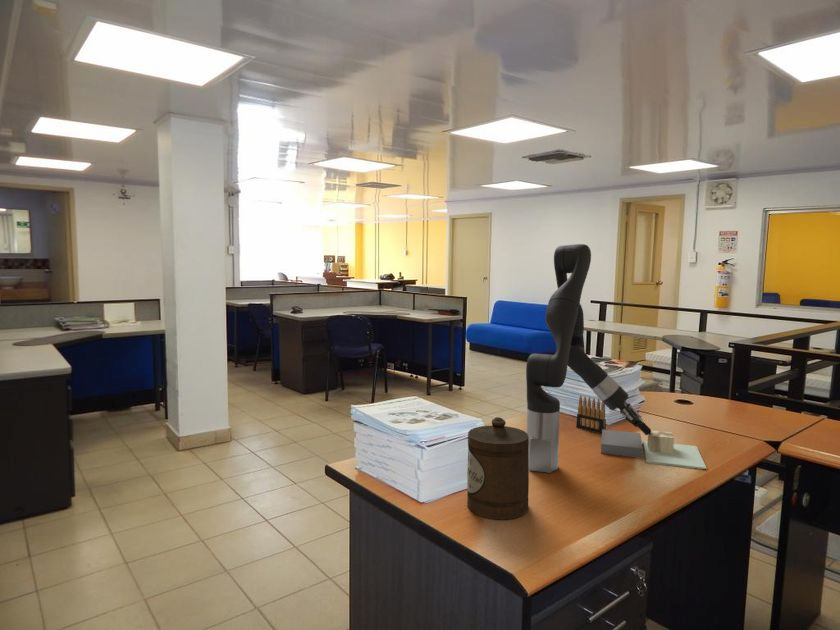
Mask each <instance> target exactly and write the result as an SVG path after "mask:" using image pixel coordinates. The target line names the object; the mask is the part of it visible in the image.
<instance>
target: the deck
mask: <svg viewBox="0 0 840 630" xmlns="http://www.w3.org/2000/svg"><path fill="white" fill-rule="evenodd" d="M643 448H644V447H643V441H642V436H641V432H634V431H633V432H631V431H621V430H613V429H606V430H604V429H602V434H601V443H600V453H601V454H606V455H613V456H621V455H622V457H632V458H640V459H643V450H644V449H643Z"/></svg>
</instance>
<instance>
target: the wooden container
mask: <svg viewBox="0 0 840 630" xmlns="http://www.w3.org/2000/svg"><path fill="white" fill-rule="evenodd" d="M505 425H506V421H505V419H504V418H502V417H498V416H497V417H494V418H493V419H492V420H491V425H483V426H482V425H481V426H476V427H473V428H471V429H470V430H469V431H468V432H467V471H466V473H467V477H466V481H467V482H466V484H467V486H466V487H467V488H466V489H467V490H466V491H467V495H466V496H467V501H466V504H467V507H468V509H469V510H470V511H471V512H472V511H473V512H472V513H474V514H476V515H478V516H479V517H481V518H482V517H483V518H486V519H491V520H504V521H505V520H511V519H512V520H513V519H517V518H520V517H522V516H523V515H525V514H526V513H527V512H528V510H529V489H530V484H529V483H530V482H529V481H530V480H529V479H530V478H529V477H530V474H529V473H530V470H529V468H528V447H529V438H528V434H527V431H525V430H524V429H520V428H516V427H512V426H507V425H506V426H505Z"/></svg>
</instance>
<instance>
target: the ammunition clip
mask: <svg viewBox="0 0 840 630" xmlns="http://www.w3.org/2000/svg"><path fill="white" fill-rule="evenodd" d="M595 399H596V398H595V397H593V398H592V400H591V397H590V396H588V399H587V396H586V395H584V397H582V395H581V394H580V396H579V398H578V405H577V415H576V422H575V423H576V424H575V427H576V428H577V427H579V428H578V429H581V428H582V430H585V429H586V431H589V430H590V432H593V431H594V432H593V433H597V432H598V433H599V434H601V435H602V429H604V430H607V429H606V428H607V427H606V426H607V424H606V421H607V419H606V405H605V404H604V403H603V402H602V401H601V399H600V398H597V400H595ZM598 433H597V434H598Z"/></svg>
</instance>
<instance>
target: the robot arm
mask: <svg viewBox="0 0 840 630" xmlns="http://www.w3.org/2000/svg"><path fill="white" fill-rule="evenodd" d="M591 261H592V251H591V248H590V247H589V246H588V245H587V244H585V243H584V244H583V243H581V244H580V243H577V244H567V245H559V246H556V248H555V249H554V253H553V266H554V272H555V273H554V274H555V280H556V286H557V290H555V291H554V292H553V293H552V294H551V296H550V298H549V300H548V303H547V307H546V312H545V315H544V316H545V317H544V318H545V323H546V326H547V328H548V330H549V332H550V334H551V335H552V337H553V339H554V342H555V343H554V344H555V345H556V351H555V354H550V353H549V354H547V353H531V354H530V355H529V356H528V358H527V362H526V367H525V370H526V372H525V376H526V379H525V380H526V403H527V406H526V410H527V412H526V433H527V434H528V438H529V447H528V468H529V471H532V472H540V473H548V474H551V473H553V472H554V471H557V470H558V469H559V447H560V446H559V445H560V443H559V441H560V415H561V413H560V409H561V403H560V400H559V399H558V398H557V397H555V396H553V395H551V394H549V393H548V392H546V391H545V390H544V389H543V387H547V388H561V387H563V386H564V384H565V381H566V377H567V373H568V372H567V371H568V367H569V368H570V370H571V371H572V372H574V373H575V374H576V375H578V377H580V378H581V379H582V380H583V382H584V383H585V384H586V385H587V386H588V387H589V388H590V389H591V390H592V391H593V392H594V394H595V396H597V397H598V399H599V400H600V401H601V403H602V402H603V403H604V404H605V407H607V408H608V409H609V410H610V411H614V410H616V409H619V414H620V415H621V416H622V417H624V418H625V420H626V421H627V422H629V423H630V424H632V425H633V426H634V427H635V428H638V429H639V430H640V431H641V432H642V433H643V434H644V435H645V436H648V434H650V433H651V430H652V429H651V428H650V427H649V426H648V425H647V424H646V423H645V421H644V419H643V418H642V416H641V415H640V414H639V412H638V411H637V410H636V409H635V407H634V406H633V405H632V404H631V403H630V402H627V400H628V399H629V397H630V396H629V395H630V394H628V392H626V390H625V389H624V388H623V387H622V386H621V385H620V384H619V383H618V382H617V381H616V380H615V379H614V378H613V377H612V376H610V375H609V374H608V373H607V372H606V371H605V370H604V368H602V367H601V366H600V365H599V364H598V363H596V362H594V360H592V358H590V356H589V355H588V354H587V353H586V351H585V350H586V349H585V341H584V340H585V339H584V331H585V327H584V326H585V325H584V323H585V322H584V318H585V317H584V310H583V306H582V304H581V297H582V294H583V289H584V286H585V283H586V280H587V276H588V274H589V270H590V265H591ZM568 274H570V276H569V277H568Z"/></svg>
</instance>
